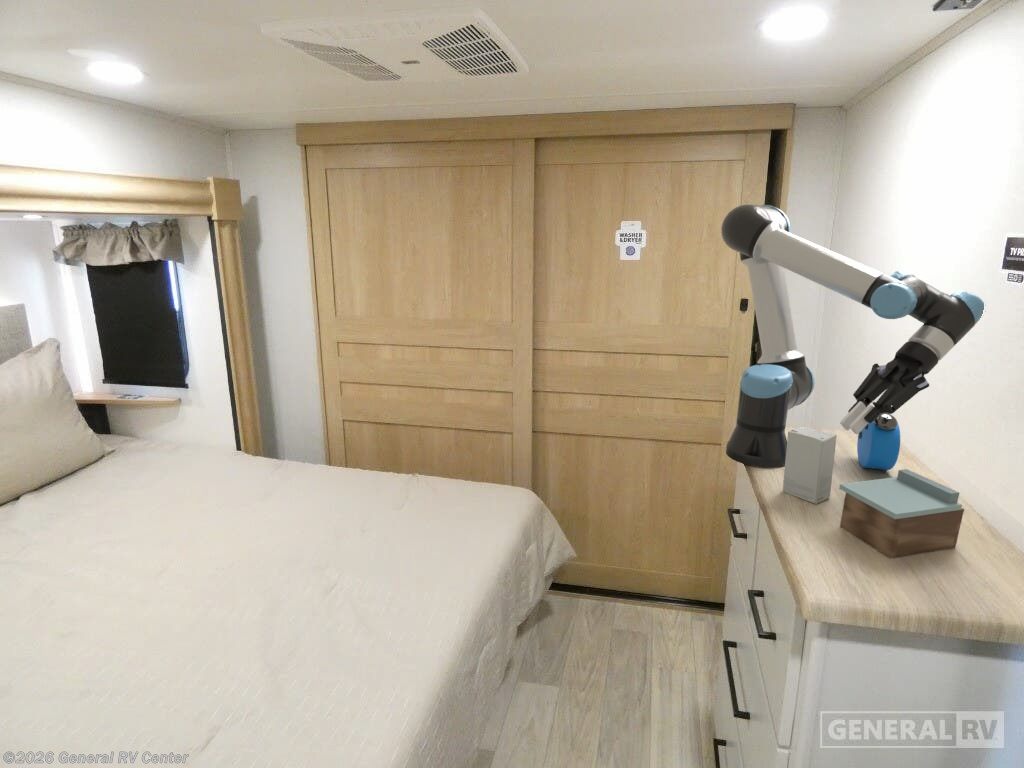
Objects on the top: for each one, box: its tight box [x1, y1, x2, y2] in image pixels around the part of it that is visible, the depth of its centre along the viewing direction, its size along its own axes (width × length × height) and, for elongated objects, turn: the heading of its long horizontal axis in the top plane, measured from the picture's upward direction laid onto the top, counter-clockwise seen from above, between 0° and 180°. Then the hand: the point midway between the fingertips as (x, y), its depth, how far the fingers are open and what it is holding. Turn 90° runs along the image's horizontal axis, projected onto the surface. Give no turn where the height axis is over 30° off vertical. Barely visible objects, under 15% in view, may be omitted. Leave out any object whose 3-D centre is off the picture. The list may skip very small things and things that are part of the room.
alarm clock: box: [856, 412, 901, 475], centre depth 146 cm, size 13×6×15 cm, turn 163°
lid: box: [838, 468, 963, 519], centre depth 112 cm, size 13×15×3 cm
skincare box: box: [782, 426, 837, 505], centre depth 131 cm, size 8×6×15 cm
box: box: [839, 492, 965, 559], centre depth 114 cm, size 12×15×8 cm
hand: (848, 428), depth 131 cm, fingers open, 2 cm apart
